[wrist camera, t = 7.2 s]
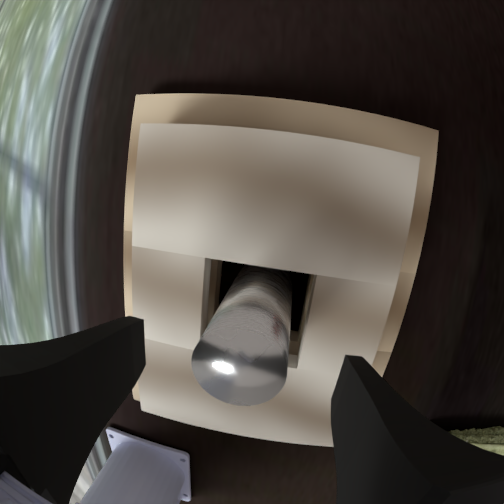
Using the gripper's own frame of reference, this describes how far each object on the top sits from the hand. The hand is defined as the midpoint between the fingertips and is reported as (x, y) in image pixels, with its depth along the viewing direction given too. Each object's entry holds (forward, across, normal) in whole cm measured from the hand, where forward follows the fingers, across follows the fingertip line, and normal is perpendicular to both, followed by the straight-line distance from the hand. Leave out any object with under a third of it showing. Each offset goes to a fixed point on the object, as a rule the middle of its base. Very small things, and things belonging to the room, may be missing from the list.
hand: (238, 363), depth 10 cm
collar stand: (+7, 0, 0) cm, 7 cm away
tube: (+7, 0, 0) cm, 7 cm away
